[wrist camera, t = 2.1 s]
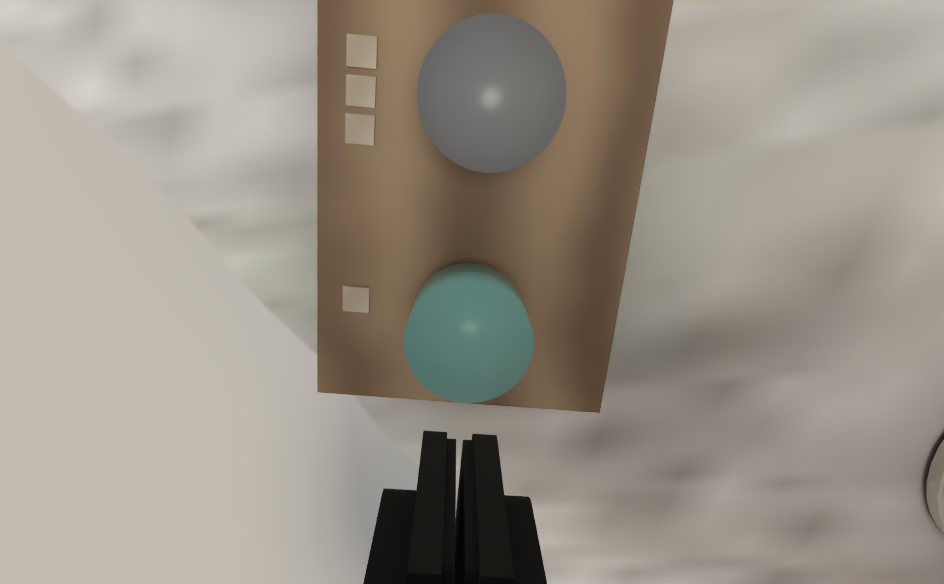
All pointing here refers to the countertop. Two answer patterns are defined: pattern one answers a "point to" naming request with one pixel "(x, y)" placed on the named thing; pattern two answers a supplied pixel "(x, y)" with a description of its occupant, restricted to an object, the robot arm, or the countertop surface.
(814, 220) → the countertop surface
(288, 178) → the countertop surface
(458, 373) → the button teal one
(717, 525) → the countertop surface
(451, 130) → the button charcoal three
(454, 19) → the button panel
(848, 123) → the countertop surface
